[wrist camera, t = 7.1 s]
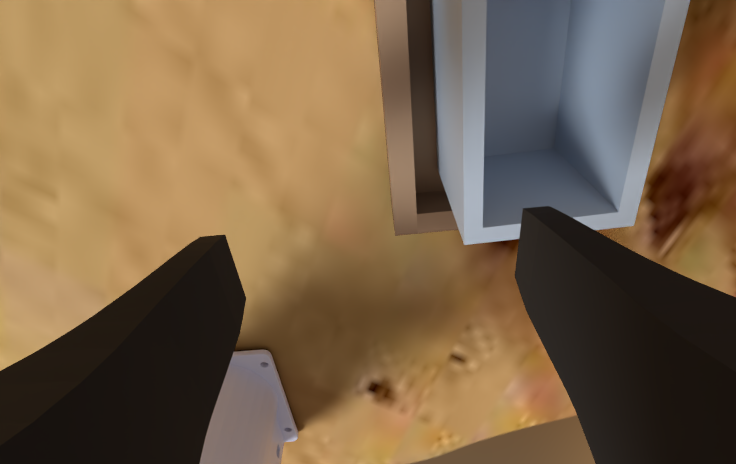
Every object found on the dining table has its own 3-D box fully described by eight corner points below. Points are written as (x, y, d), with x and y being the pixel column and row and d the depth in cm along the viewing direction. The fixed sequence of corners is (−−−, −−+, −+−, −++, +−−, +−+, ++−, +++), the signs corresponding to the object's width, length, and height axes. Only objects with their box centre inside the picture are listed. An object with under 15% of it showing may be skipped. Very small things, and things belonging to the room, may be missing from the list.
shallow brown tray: (587, 188, 20) (613, 215, 18) (392, 207, 21) (395, 235, 19) (652, -135, 14) (703, -151, 12) (365, -97, 14) (365, -106, 12)
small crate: (561, 153, 19) (633, 225, 14) (437, 169, 19) (464, 245, 14) (588, -64, 14) (708, -75, 9) (427, -39, 15) (461, -36, 10)
